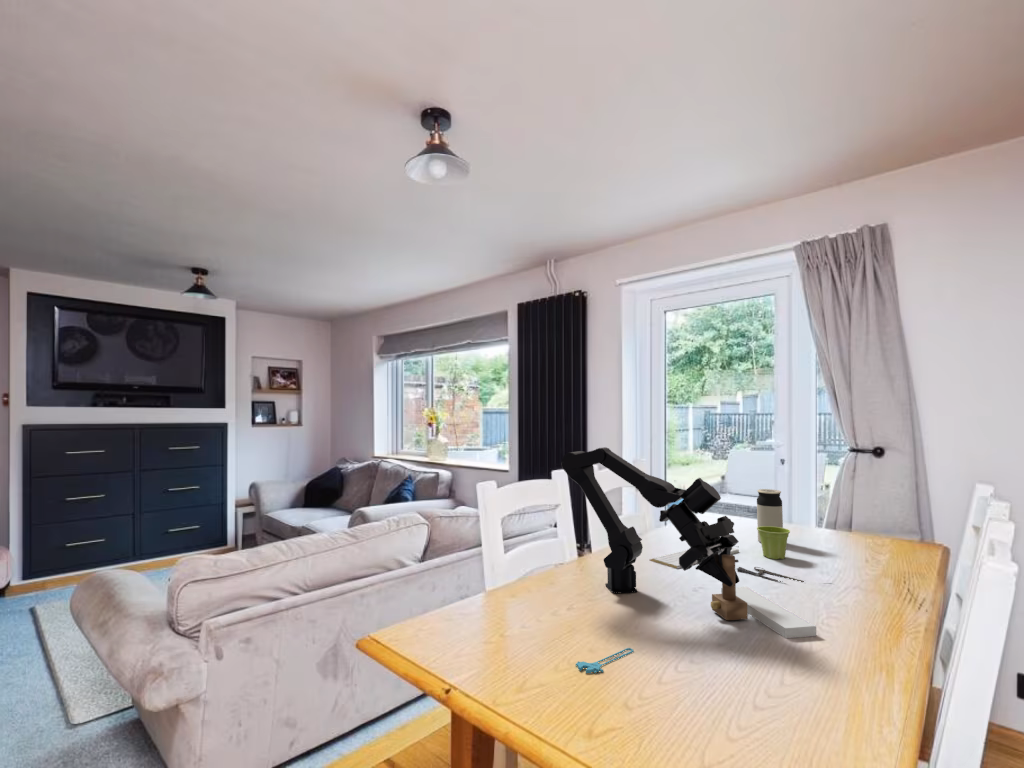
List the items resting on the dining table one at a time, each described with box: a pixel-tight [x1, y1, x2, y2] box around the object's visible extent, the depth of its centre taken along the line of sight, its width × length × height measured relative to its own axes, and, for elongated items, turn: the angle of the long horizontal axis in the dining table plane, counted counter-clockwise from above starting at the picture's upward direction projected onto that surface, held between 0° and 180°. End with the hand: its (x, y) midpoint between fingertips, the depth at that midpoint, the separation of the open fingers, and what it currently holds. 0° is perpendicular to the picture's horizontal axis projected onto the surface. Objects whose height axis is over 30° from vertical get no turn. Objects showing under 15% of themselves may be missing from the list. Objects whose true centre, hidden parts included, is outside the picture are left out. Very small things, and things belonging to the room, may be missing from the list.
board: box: [720, 586, 817, 639], centre depth 118 cm, size 7×24×2 cm, turn 8°
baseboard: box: [649, 545, 740, 570], centre depth 165 cm, size 31×3×12 cm
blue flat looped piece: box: [575, 647, 635, 674], centre depth 97 cm, size 14×1×5 cm
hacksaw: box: [736, 566, 805, 583], centre depth 143 cm, size 24×10×2 cm, turn 36°
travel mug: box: [756, 488, 784, 543], centre depth 181 cm, size 8×8×18 cm
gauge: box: [710, 554, 749, 621], centre depth 117 cm, size 7×6×13 cm
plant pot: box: [756, 526, 791, 560], centre depth 163 cm, size 9×9×9 cm
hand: (734, 584), depth 116 cm, fingers closed on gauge, 3 cm apart
